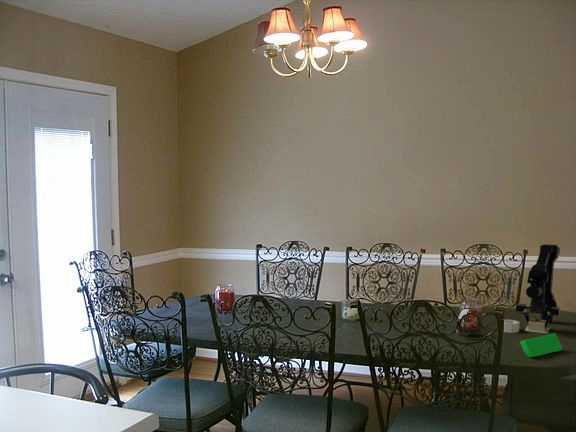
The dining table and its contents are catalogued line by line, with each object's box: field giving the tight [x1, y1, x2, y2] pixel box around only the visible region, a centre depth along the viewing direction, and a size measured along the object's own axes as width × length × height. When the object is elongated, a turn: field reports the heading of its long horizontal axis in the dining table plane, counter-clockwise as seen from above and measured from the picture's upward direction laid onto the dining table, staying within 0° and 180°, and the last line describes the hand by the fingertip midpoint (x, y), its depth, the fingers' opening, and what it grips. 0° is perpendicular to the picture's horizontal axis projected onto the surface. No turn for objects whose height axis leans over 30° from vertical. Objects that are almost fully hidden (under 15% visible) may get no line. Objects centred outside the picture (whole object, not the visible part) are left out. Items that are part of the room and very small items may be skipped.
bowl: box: [503, 319, 520, 334], centre depth 271 cm, size 8×8×4 cm
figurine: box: [456, 308, 469, 333], centre depth 265 cm, size 7×8×12 cm
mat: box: [524, 325, 551, 334], centre depth 272 cm, size 10×10×1 cm
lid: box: [527, 318, 546, 333], centre depth 272 cm, size 7×7×5 cm
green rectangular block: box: [519, 332, 564, 358], centre depth 238 cm, size 20×10×7 cm, turn 120°
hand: (537, 327), depth 272 cm, fingers closed on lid, 7 cm apart
